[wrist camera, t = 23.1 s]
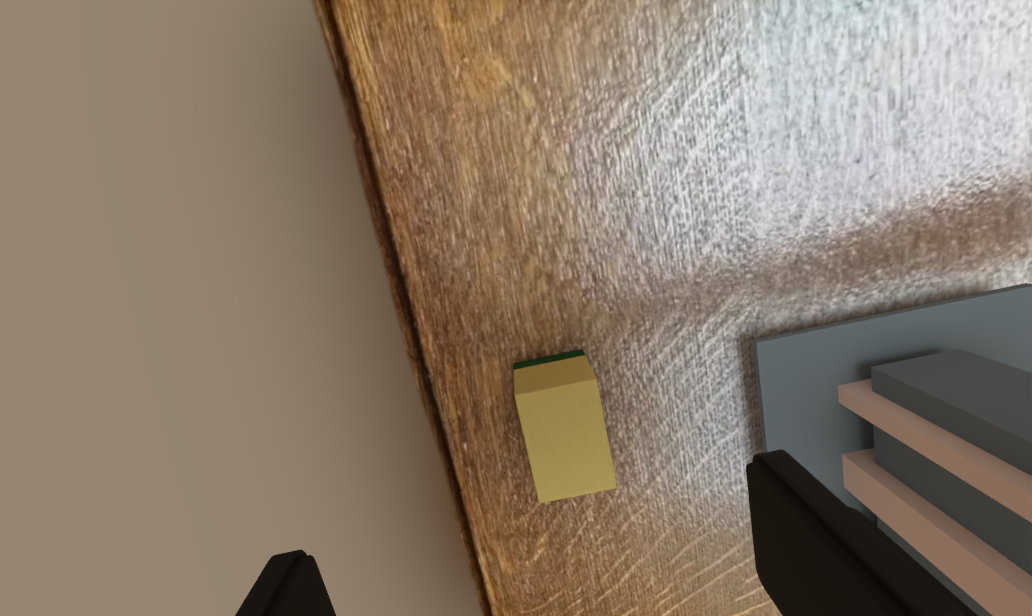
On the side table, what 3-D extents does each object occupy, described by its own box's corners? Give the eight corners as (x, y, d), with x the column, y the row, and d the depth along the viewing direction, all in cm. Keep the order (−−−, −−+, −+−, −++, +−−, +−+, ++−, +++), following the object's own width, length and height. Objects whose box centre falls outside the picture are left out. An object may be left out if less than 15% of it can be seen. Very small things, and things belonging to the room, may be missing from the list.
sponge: (512, 363, 27) (514, 395, 23) (582, 348, 27) (597, 378, 23) (534, 456, 28) (539, 504, 24) (600, 443, 28) (617, 488, 24)
